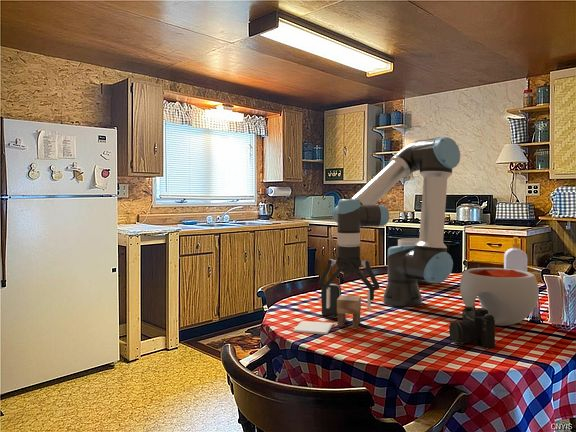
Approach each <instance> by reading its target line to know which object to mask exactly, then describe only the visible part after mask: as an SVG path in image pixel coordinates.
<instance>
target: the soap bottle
mask: <svg viewBox="0 0 576 432" xmlns="http://www.w3.org/2000/svg"><path fill="white" fill-rule="evenodd" d="M512 239H513V243H511V248H509V249H507V250H506V251H504V254H503V269H514V270H521V271H526V272H528V254H527V253H526V252H525V251H524V250H522V249H521V244H520V243H518V240H519V239H520V238H519V237H518V236H513V238H512Z"/></svg>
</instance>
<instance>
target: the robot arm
mask: <svg viewBox="0 0 576 432" xmlns="http://www.w3.org/2000/svg"><path fill="white" fill-rule="evenodd" d="M460 161H461V151H460V147H459V145H458V144H457V142H456V140H454V139H453V138H451V137H449V136H442V137H441V136H437V137H433V138H427V139H420V140H415V141H411V143H409V144H407V145H406V146H404V147H403V148H401V149H400V150H399V151H398V152H396V153H395V154H394V155H393V156H392V157H391V158H390V159H389V161H388V164H387V165H386V166H385V167H384V168H382V170H381V171H379V172H378V174H376V175H375V176H374V177H373V178H372V179H371V180H370V181H369V182H368V183H366V184H365V186H363V187H362V188H360V190H359V191H358V192H357V193H356V194H355V195H353V197H351V198H350V199H349V198H348V199H347V198H345V199H343V198H341V199H339V200H338V202H337V205H336V206H335V207H334V209H333V211H332V218H333V220H334V222H335V223H337V233H336V234H337V236H336V237H337V245H338V246H337V252H336V253H337V257H336V259H332V258H329V259H328V260H327V263H326V265H327V266H326V268H325V269H324V272H323V273H322V276H321V278H320V279H319V282H318V283H317V286H318V287H321V288H322V287H323V289H324V298H327V299H326V308H329V307H330V288H328V286H329V285H330V284H333V282H334V280H335V279H336V278H337V277H338V276H339V274H346V275H347V274H352V275H353V274H356V276H358V277H359V279H360V280H361V281H362V283H364V285H365V286H366V287H367V289H368V290H367V293H366V294H367V295H366V296H367V300H366V301H367V304H366V305H367V307H366V309H367V312H370V311H371V306H372V305H371V302H372V301H374V299H375V291H377V290H379V289H380V287H381V286H380V284H379V282H378V280H377V277H376V276H375V274H374V271H373V270H372V267H371V262H370V260H368V259H367V260H361V246H360V244H361V228H373V227H375V228H379V227H385V226H386V225H387V224H388V223H389V220H390V211H389V209H388V208H387V206H385V205H383V204H377V203H378V202H379V200H380V199H382V198H383V197H384V195H386V194H387V193H388V192H389V191H390V190H391V189H392V188H394V186H395V185H396V184H398V182H400V180H402V179H403V178H407V177H409V176H410V174H412V173H414V172H418V171H419V174H420V175H421V176H422V178H423V182H422V183H423V185H422V195H421V196H422V197H421V207H420V208H421V209H420V210H421V211H420V222H419V223H420V225H419V237H418V238H419V241H418V242H417V243H416V244H415V245H405V246H398V245H395V246H389V248H388V249H387V256H386V260H387V263H386V264H387V283H386V287H385V290H384V293H383V298H382V299H383V300H382V301H383V303H384V304H387V305H389V306H395V307H416V306H421V305H422V304H423V297H422V293H421V291H420V288H419V284H418V283H417V280H422V281H427V282H428V283H429V284H430V283H432V284H433V283H434V284H439V283H443V282H444V281H446V280H447V278H449V277H450V275H451V273H452V271H453V267H454V261H453V258H452V256H451V254H450V253H448V252H447V251H448V247H447V245H446V244H445V243H444V233H445V222H446V221H445V219H446V205H447V190H448V179H449V178H450V177H451V176H452V175H453V169H455V168H456V167H457V166H458V164H459V163H460ZM335 265H336V266H337V268H338V269H337V270H336V271H335V272H334V273H333V275H332V276H331V277H330V278H329V279H328V280H327V281H326V279H327V277H328V276H329V275H328V274H330V273H329V272H330V271H331V269H332V267H333V266H335ZM361 266H362V267H363V268H365V269H366V271H367V274H368V276H369V279H370V280H371V282H370V281H369V279H368V278H367V277H366V276H365V275H364V273H363V272H362V271H361V269H360V267H361ZM325 281H326V282H325Z"/></svg>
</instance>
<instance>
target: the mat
mask: <svg viewBox="0 0 576 432" xmlns="http://www.w3.org/2000/svg"><path fill="white" fill-rule="evenodd" d="M334 324H335V323H334V322H323V321H308V320H301V321H300V322H299V323H298V324H297V326H295V328H294V329H293V330H292V332H293V333H305V334H319V335H328V334H329V332H330V331H331V329H332V328H333V326H334Z"/></svg>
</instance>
